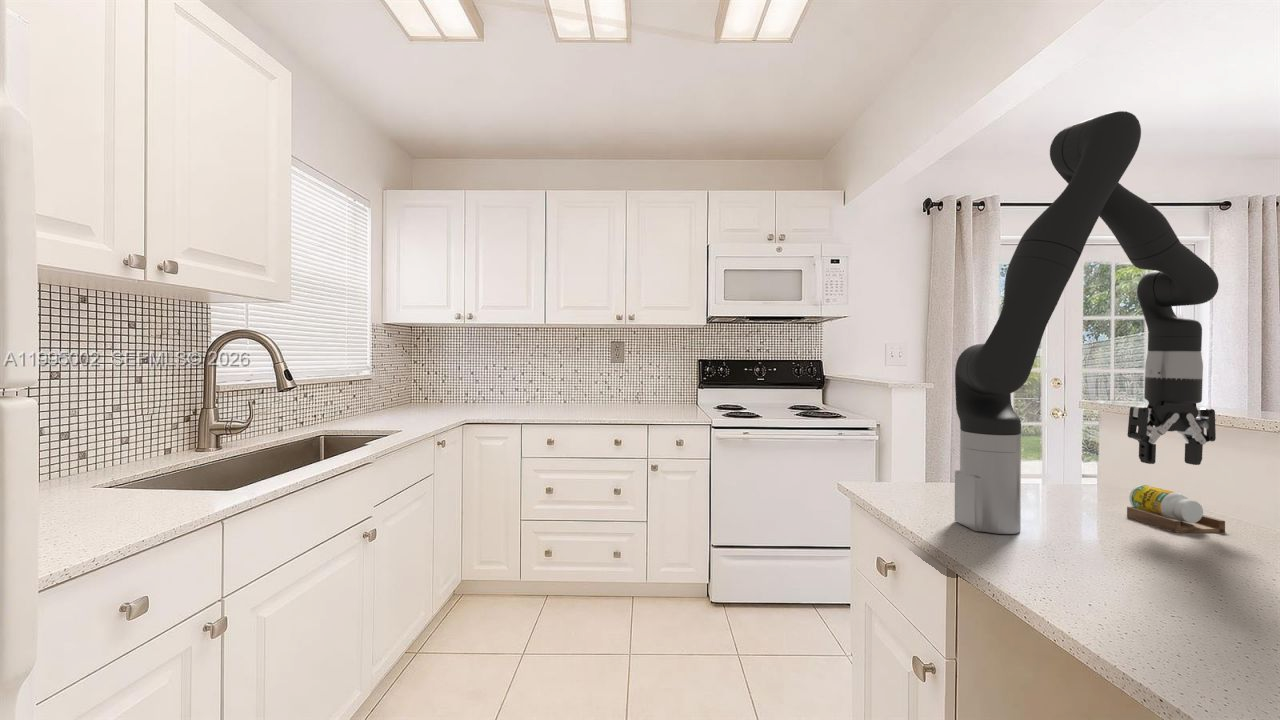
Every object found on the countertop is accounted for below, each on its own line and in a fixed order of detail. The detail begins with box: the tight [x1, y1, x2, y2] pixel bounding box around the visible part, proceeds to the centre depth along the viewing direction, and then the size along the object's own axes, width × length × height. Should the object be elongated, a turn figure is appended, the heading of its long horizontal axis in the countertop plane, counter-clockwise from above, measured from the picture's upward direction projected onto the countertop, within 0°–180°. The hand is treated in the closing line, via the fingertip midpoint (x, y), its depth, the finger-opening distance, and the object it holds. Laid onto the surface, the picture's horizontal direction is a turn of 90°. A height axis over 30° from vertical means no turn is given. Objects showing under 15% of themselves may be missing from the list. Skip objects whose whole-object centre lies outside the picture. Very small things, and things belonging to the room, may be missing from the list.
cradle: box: [1126, 506, 1226, 533], centre depth 98 cm, size 9×9×2 cm
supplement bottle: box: [1128, 484, 1204, 523], centre depth 99 cm, size 5×5×10 cm
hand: (1170, 463), depth 98 cm, fingers open, 8 cm apart
